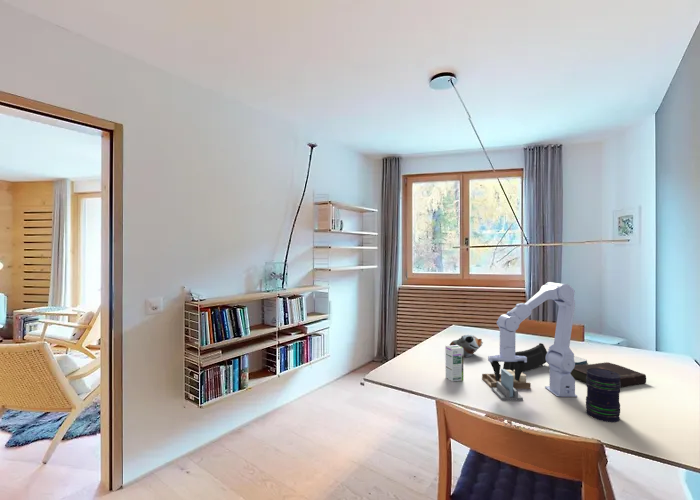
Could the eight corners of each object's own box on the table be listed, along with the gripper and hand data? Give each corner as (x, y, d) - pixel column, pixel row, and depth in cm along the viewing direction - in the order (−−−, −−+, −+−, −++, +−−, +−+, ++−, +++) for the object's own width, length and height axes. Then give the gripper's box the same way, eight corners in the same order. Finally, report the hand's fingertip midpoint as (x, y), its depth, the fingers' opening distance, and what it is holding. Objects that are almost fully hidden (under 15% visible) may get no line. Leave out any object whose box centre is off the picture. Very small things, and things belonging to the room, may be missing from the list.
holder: (523, 400, 139) (523, 391, 139) (501, 400, 139) (502, 391, 139) (511, 390, 149) (511, 381, 149) (491, 389, 149) (491, 381, 149)
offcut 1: (517, 385, 152) (518, 375, 152) (512, 384, 152) (512, 375, 152) (510, 378, 159) (510, 369, 159) (505, 378, 160) (505, 369, 159)
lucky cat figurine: (468, 349, 207) (480, 330, 202) (477, 364, 196) (489, 344, 191) (445, 343, 204) (456, 323, 199) (453, 358, 193) (465, 337, 188)
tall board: (513, 396, 140) (513, 375, 140) (509, 396, 140) (509, 375, 140) (504, 388, 148) (504, 368, 148) (500, 388, 148) (501, 368, 148)
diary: (646, 385, 157) (647, 374, 157) (604, 392, 149) (604, 380, 149) (604, 371, 175) (604, 360, 175) (564, 376, 167) (565, 365, 167)
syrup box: (452, 382, 157) (452, 348, 157) (444, 377, 163) (445, 344, 163) (463, 380, 159) (464, 347, 159) (456, 376, 165) (456, 344, 165)
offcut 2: (526, 385, 152) (526, 375, 152) (520, 385, 152) (520, 375, 152) (518, 379, 159) (518, 369, 159) (513, 378, 159) (513, 369, 159)
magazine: (505, 356, 164) (544, 330, 178) (498, 355, 167) (538, 329, 181) (511, 391, 167) (550, 362, 181) (505, 388, 170) (543, 360, 184)
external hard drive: (532, 354, 201) (533, 350, 201) (546, 351, 206) (546, 348, 206) (575, 367, 180) (575, 363, 180) (589, 364, 185) (589, 360, 185)
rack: (530, 388, 150) (530, 383, 150) (491, 388, 151) (491, 382, 151) (518, 379, 161) (518, 373, 161) (482, 378, 162) (482, 373, 162)
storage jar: (594, 421, 123) (594, 377, 123) (580, 408, 133) (580, 367, 132) (626, 423, 121) (627, 378, 121) (610, 410, 131) (611, 369, 131)
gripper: (521, 342, 148) (520, 376, 148) (485, 342, 148) (485, 376, 148) (529, 347, 141) (529, 382, 141) (492, 347, 141) (491, 382, 141)
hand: (507, 379), depth 144 cm, fingers open, 7 cm apart
